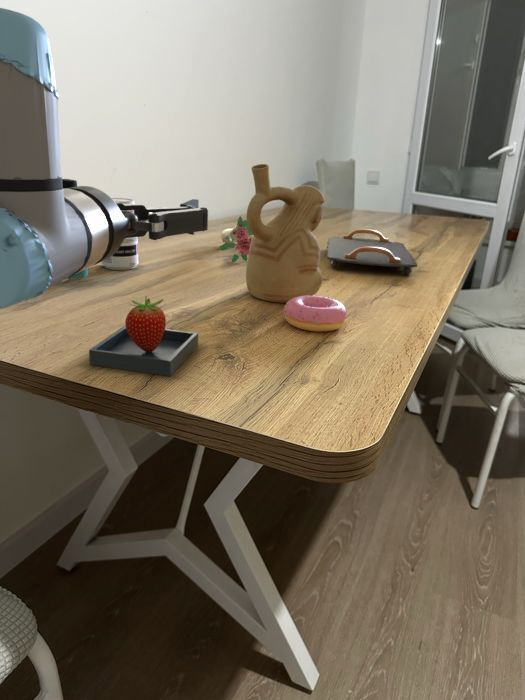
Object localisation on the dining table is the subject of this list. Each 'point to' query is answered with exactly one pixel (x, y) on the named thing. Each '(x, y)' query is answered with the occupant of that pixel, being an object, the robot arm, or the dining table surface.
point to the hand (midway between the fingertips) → (145, 206)
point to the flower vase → (237, 239)
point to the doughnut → (315, 313)
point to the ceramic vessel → (283, 241)
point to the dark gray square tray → (144, 352)
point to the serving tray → (369, 251)
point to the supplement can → (124, 249)
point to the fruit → (146, 325)
